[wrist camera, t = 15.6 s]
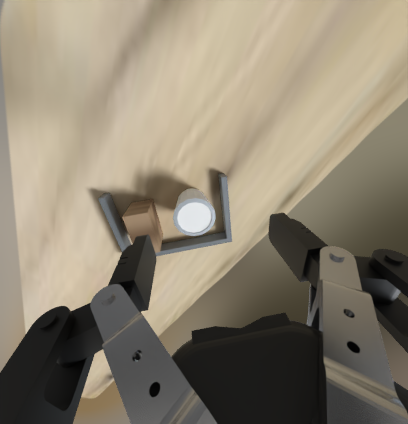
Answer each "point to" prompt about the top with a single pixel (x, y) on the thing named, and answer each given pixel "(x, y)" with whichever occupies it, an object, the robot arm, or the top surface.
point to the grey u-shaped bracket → (177, 245)
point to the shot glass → (193, 213)
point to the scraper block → (144, 222)
